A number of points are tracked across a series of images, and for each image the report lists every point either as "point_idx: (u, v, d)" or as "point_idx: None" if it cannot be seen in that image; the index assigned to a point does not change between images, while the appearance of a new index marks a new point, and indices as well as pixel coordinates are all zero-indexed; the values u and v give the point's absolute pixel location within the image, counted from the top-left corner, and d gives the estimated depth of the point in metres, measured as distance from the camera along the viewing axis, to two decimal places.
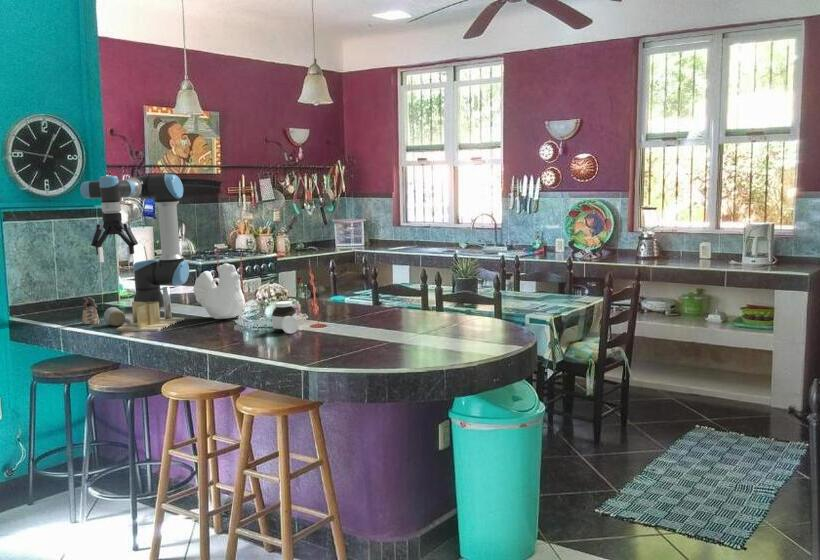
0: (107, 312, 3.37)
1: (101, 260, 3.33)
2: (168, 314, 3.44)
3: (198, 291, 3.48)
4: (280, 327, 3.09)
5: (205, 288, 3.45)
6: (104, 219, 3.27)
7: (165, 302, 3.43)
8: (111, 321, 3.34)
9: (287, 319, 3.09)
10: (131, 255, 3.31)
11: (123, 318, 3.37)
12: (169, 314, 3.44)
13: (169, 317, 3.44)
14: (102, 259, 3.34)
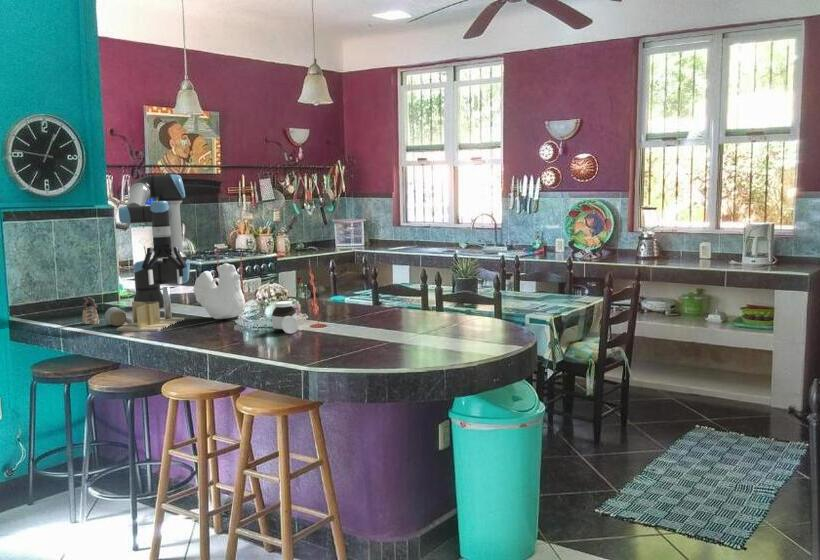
0: (108, 312, 3.37)
1: (151, 282, 3.43)
2: (168, 314, 3.44)
3: (198, 291, 3.48)
4: (280, 327, 3.09)
5: (205, 288, 3.45)
6: (155, 243, 3.38)
7: (165, 302, 3.43)
8: (112, 321, 3.34)
9: (287, 319, 3.09)
10: (180, 277, 3.42)
11: (124, 318, 3.37)
12: (169, 314, 3.44)
13: (169, 317, 3.44)
14: (152, 281, 3.44)
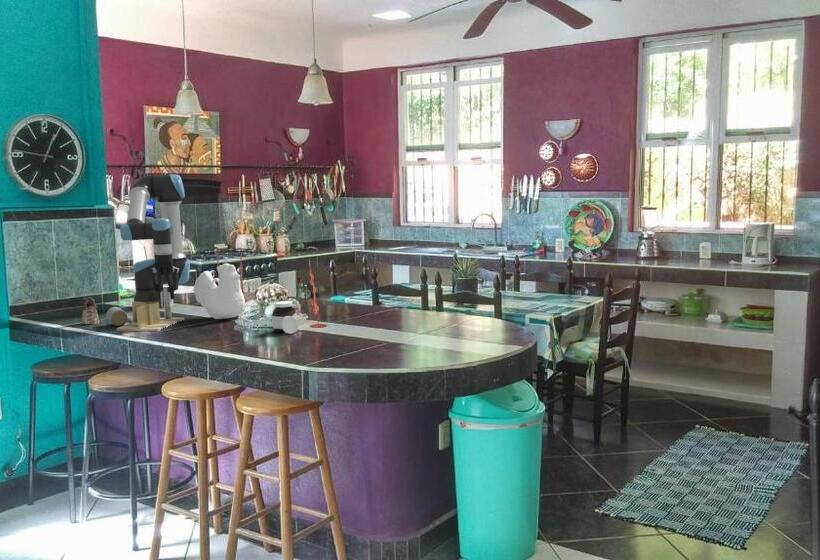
0: (109, 312, 3.37)
1: (163, 304, 3.44)
2: (168, 314, 3.44)
3: (198, 291, 3.48)
4: (280, 327, 3.09)
5: (205, 288, 3.45)
6: (156, 260, 3.39)
7: (165, 302, 3.43)
8: (113, 321, 3.35)
9: (287, 319, 3.09)
10: (172, 300, 3.44)
11: (125, 318, 3.37)
12: (169, 314, 3.44)
13: (169, 317, 3.44)
14: None
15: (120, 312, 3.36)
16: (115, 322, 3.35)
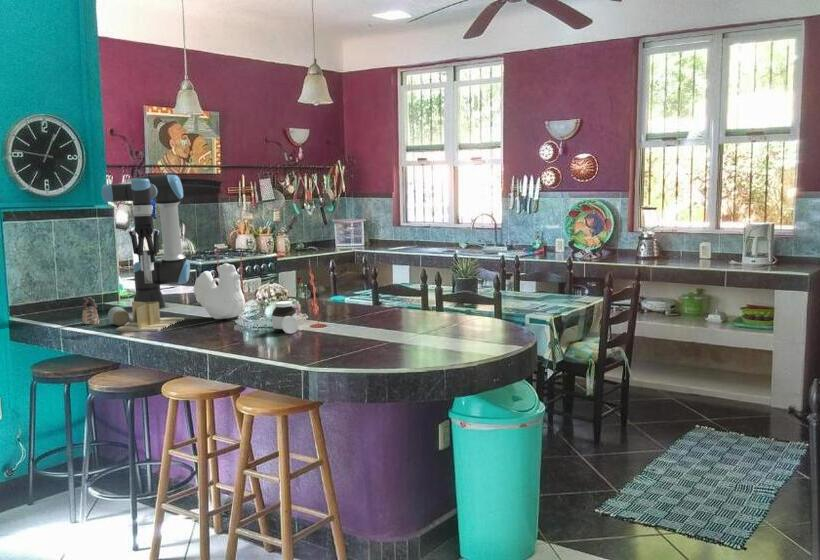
0: (111, 311, 3.38)
1: (143, 268, 3.31)
2: (148, 278, 3.31)
3: (198, 291, 3.48)
4: (280, 327, 3.09)
5: (205, 288, 3.45)
6: (136, 222, 3.26)
7: (145, 266, 3.30)
8: (115, 320, 3.35)
9: (287, 319, 3.09)
10: (152, 263, 3.31)
11: (127, 317, 3.38)
12: (149, 278, 3.31)
13: (149, 281, 3.31)
14: None
15: (122, 312, 3.36)
16: (117, 322, 3.35)
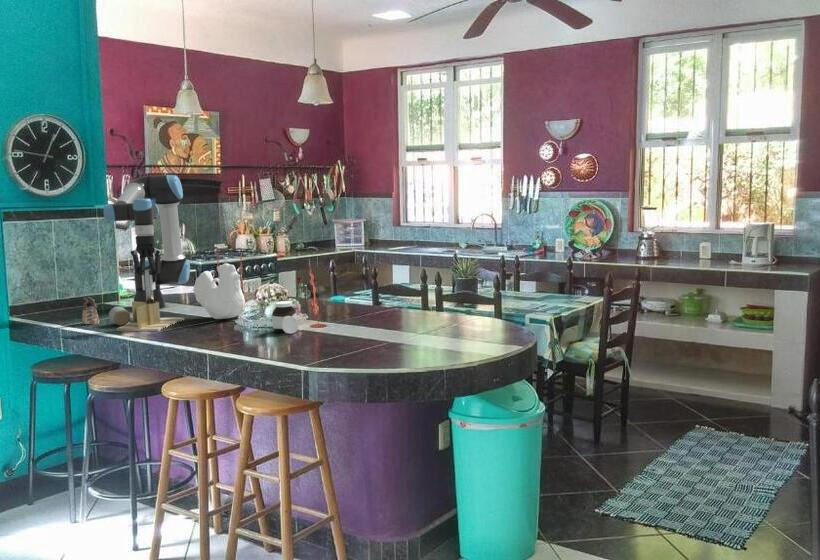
0: (112, 311, 3.38)
1: None
2: (150, 298, 3.32)
3: (198, 291, 3.48)
4: (280, 327, 3.09)
5: (205, 288, 3.45)
6: (137, 242, 3.27)
7: (147, 285, 3.31)
8: (116, 320, 3.35)
9: (287, 319, 3.09)
10: (154, 283, 3.33)
11: (128, 317, 3.38)
12: (151, 298, 3.32)
13: (151, 301, 3.32)
14: None
15: (123, 312, 3.36)
16: (118, 322, 3.36)
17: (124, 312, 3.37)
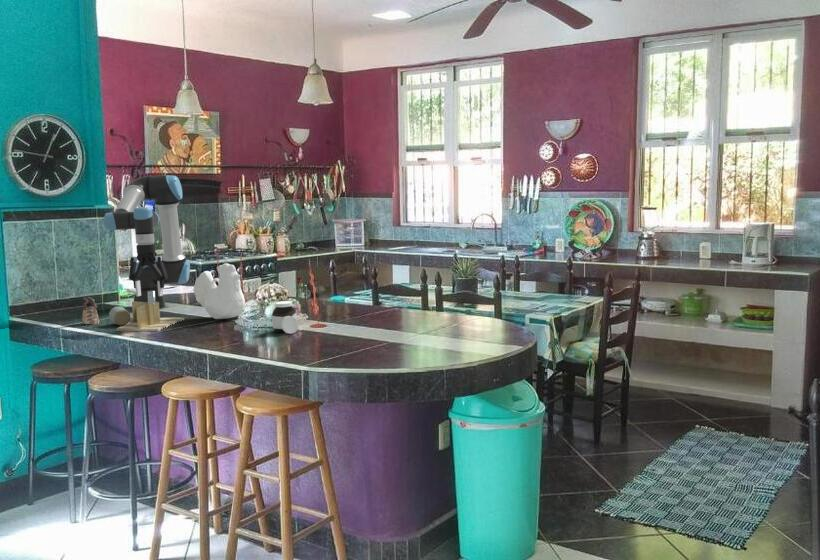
0: (112, 311, 3.38)
1: (138, 294, 3.34)
2: None
3: (198, 291, 3.48)
4: (280, 327, 3.09)
5: (205, 288, 3.45)
6: (138, 251, 3.28)
7: None
8: (116, 320, 3.35)
9: (287, 319, 3.09)
10: (161, 289, 3.32)
11: (128, 317, 3.38)
12: None
13: None
14: (139, 293, 3.34)
15: (123, 312, 3.37)
16: (118, 322, 3.36)
17: (124, 312, 3.37)
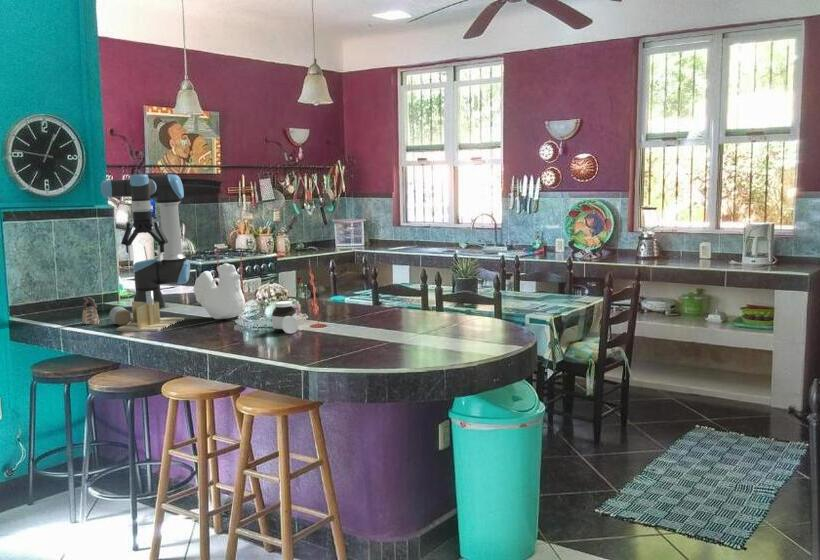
0: (113, 311, 3.38)
1: (131, 258, 3.33)
2: None
3: (198, 291, 3.48)
4: (280, 327, 3.09)
5: (205, 288, 3.45)
6: (135, 217, 3.27)
7: None
8: (117, 320, 3.36)
9: (287, 319, 3.09)
10: (161, 253, 3.32)
11: (129, 317, 3.38)
12: None
13: None
14: (132, 257, 3.34)
15: (124, 311, 3.37)
16: (119, 321, 3.36)
17: (125, 312, 3.37)
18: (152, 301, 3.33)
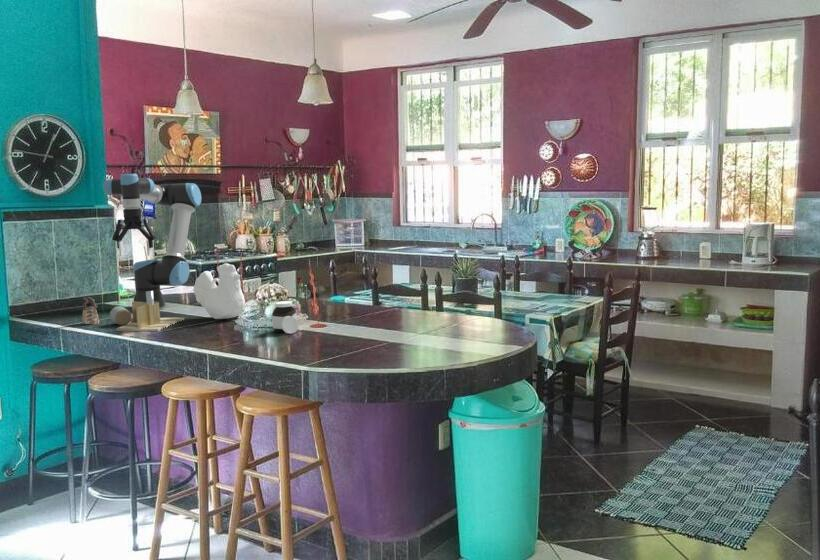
0: (113, 311, 3.39)
1: (122, 253, 3.52)
2: None
3: (198, 291, 3.48)
4: (280, 327, 3.09)
5: (205, 288, 3.45)
6: (125, 215, 3.46)
7: None
8: (117, 320, 3.36)
9: (287, 319, 3.09)
10: (150, 249, 3.50)
11: (129, 317, 3.39)
12: None
13: None
14: (122, 253, 3.52)
15: (124, 311, 3.37)
16: (119, 321, 3.36)
17: (125, 312, 3.38)
18: (152, 301, 3.33)
